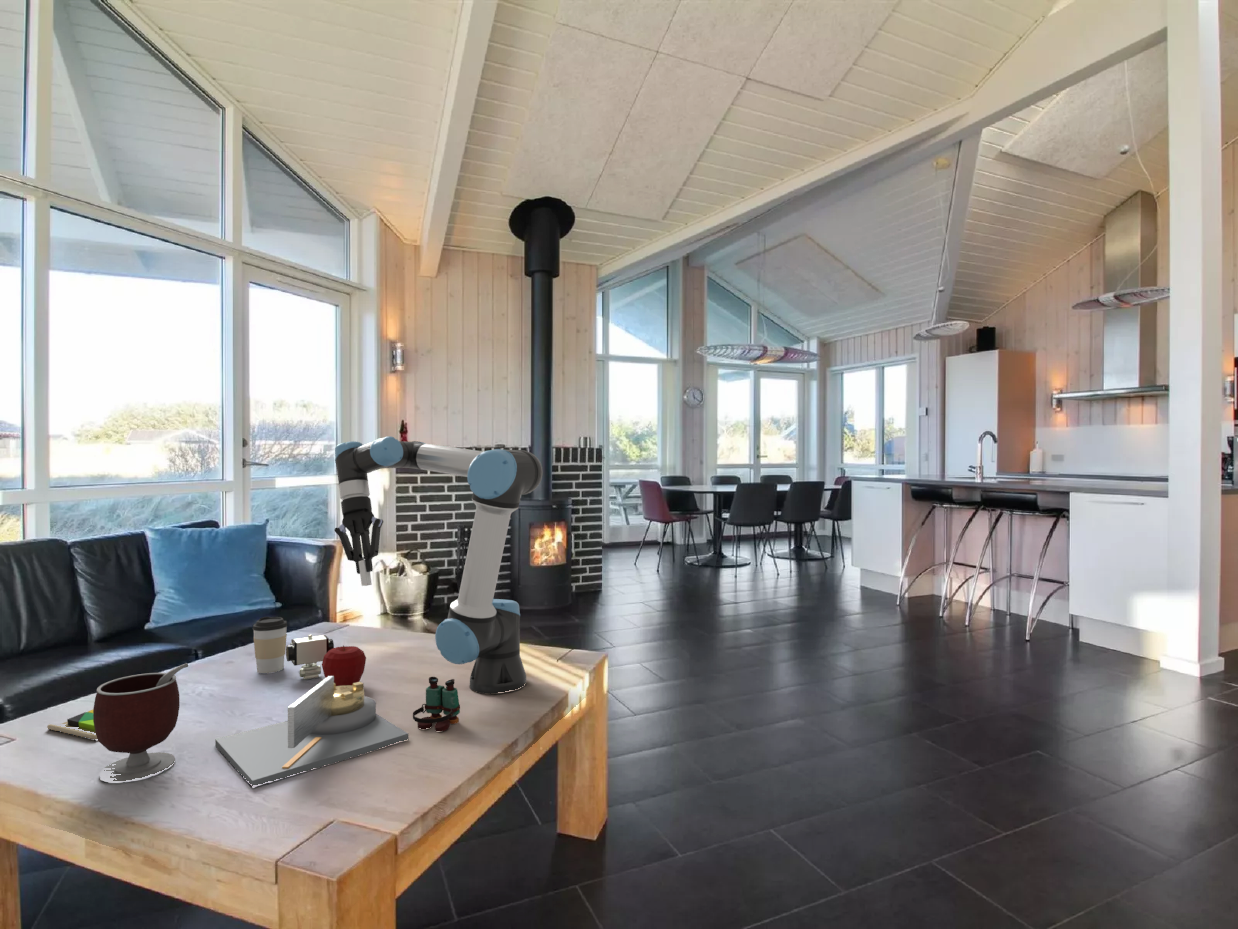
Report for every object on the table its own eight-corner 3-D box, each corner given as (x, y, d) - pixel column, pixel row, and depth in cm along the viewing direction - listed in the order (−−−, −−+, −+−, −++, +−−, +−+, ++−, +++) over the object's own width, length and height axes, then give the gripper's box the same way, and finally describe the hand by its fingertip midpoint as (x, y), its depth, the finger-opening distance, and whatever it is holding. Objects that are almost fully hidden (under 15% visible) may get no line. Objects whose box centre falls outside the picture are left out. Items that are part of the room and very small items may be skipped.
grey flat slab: (358, 708, 166) (358, 690, 166) (408, 740, 148) (408, 719, 148) (215, 746, 145) (215, 725, 145) (252, 788, 126) (252, 764, 126)
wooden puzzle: (44, 733, 153) (44, 718, 153) (130, 704, 171) (130, 691, 171) (94, 745, 147) (94, 729, 147) (178, 714, 164) (178, 699, 164)
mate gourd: (83, 791, 125) (82, 683, 125) (105, 761, 138) (104, 662, 138) (182, 775, 131) (181, 672, 131) (194, 747, 144) (194, 653, 144)
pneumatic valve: (334, 675, 192) (334, 633, 191) (288, 683, 185) (288, 639, 185) (330, 670, 196) (329, 629, 196) (285, 678, 189) (285, 635, 189)
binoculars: (404, 690, 151) (431, 672, 160) (408, 735, 152) (434, 715, 162) (439, 695, 148) (464, 676, 158) (442, 740, 149) (466, 719, 159)
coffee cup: (294, 668, 199) (293, 617, 198) (263, 676, 191) (263, 623, 191) (276, 663, 203) (276, 613, 203) (246, 671, 196) (245, 619, 196)
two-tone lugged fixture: (324, 698, 160) (324, 663, 160) (371, 697, 161) (371, 663, 160) (262, 749, 132) (262, 707, 132) (319, 749, 132) (319, 707, 132)
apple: (330, 698, 173) (329, 653, 173) (316, 688, 181) (315, 644, 181) (372, 688, 181) (372, 645, 181) (357, 679, 189) (357, 637, 189)
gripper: (384, 495, 187) (396, 580, 182) (339, 505, 188) (350, 590, 183) (372, 491, 180) (384, 579, 175) (325, 502, 180) (336, 590, 176)
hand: (366, 585), depth 179 cm, fingers closed
